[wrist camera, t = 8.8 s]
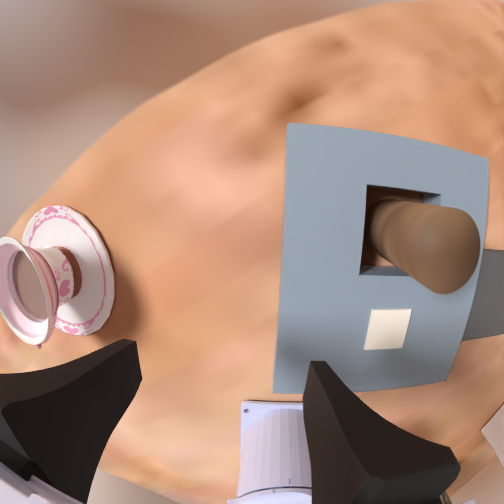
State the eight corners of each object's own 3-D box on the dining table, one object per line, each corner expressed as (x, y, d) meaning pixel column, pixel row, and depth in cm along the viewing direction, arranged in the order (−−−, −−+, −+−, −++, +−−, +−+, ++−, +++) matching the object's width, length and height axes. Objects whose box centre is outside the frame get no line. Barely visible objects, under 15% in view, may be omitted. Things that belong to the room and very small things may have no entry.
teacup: (18, 210, 20) (-28, 219, 14) (108, 197, 19) (56, 203, 13) (38, 324, 23) (1, 350, 17) (128, 340, 22) (93, 380, 16)
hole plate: (434, 365, 20) (447, 381, 18) (273, 373, 21) (272, 394, 19) (469, 160, 16) (490, 159, 14) (285, 131, 17) (288, 122, 15)
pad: (501, 329, 19) (506, 333, 18) (448, 336, 20) (453, 341, 19) (520, 252, 17) (526, 254, 16) (468, 247, 18) (475, 250, 17)
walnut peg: (409, 255, 19) (473, 292, 11) (360, 255, 19) (410, 296, 11) (414, 201, 18) (484, 211, 10) (364, 197, 18) (420, 204, 10)
